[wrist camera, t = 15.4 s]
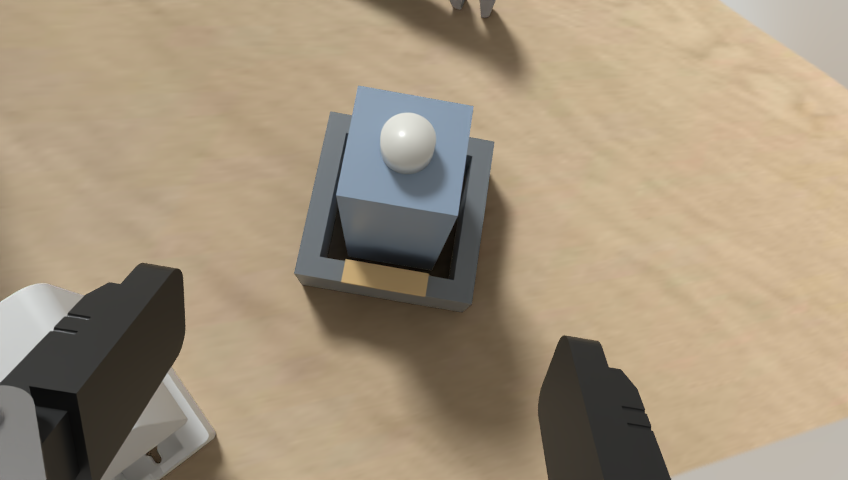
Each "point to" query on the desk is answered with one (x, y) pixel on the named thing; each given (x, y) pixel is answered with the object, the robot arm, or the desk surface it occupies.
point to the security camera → (161, 419)
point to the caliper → (485, 6)
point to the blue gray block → (402, 176)
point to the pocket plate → (384, 279)
